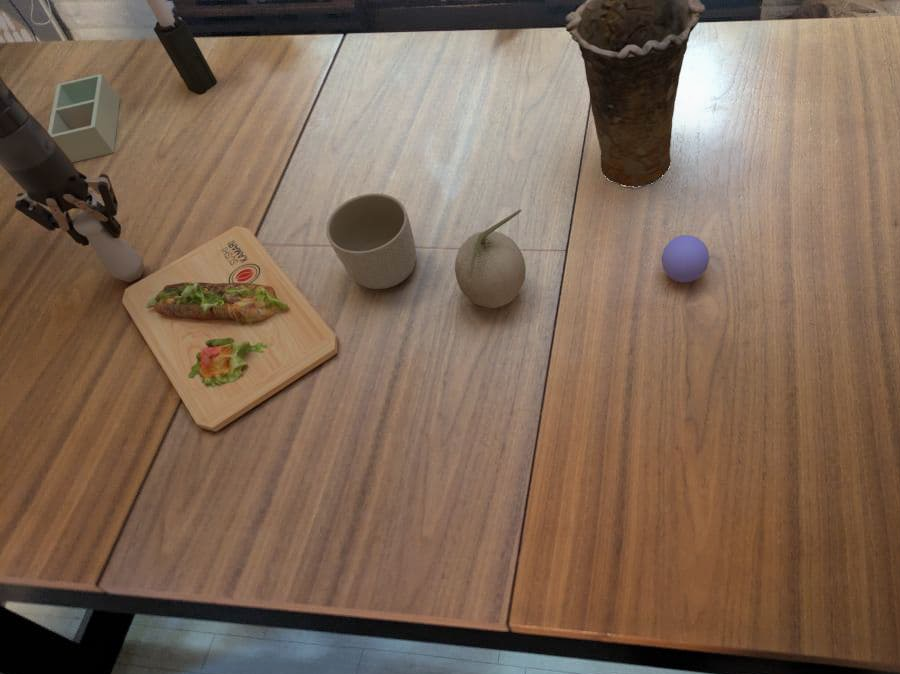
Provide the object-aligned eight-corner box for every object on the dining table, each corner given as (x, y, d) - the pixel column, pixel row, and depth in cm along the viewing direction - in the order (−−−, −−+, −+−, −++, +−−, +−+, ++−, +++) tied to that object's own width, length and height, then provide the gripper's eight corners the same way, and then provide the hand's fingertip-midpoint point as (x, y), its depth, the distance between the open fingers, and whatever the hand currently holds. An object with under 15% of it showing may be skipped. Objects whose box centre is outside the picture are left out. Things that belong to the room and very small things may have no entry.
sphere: (670, 252, 112) (672, 219, 106) (712, 264, 110) (718, 232, 104) (653, 284, 109) (655, 252, 103) (697, 297, 107) (702, 265, 101)
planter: (382, 312, 111) (361, 266, 102) (334, 275, 116) (309, 227, 107) (439, 265, 115) (423, 216, 106) (390, 231, 120) (370, 181, 111)
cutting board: (346, 349, 108) (329, 319, 101) (208, 439, 102) (181, 413, 95) (247, 228, 123) (227, 195, 117) (123, 300, 118) (94, 269, 111)
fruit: (449, 316, 109) (427, 249, 96) (479, 262, 114) (462, 191, 102) (511, 333, 106) (497, 265, 94) (539, 277, 112) (529, 205, 99)
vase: (649, 212, 116) (656, 61, 94) (559, 174, 123) (545, 25, 100) (704, 148, 123) (723, -7, 100) (616, 115, 130) (615, -37, 107)
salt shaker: (119, 262, 121) (69, 205, 110) (151, 257, 121) (105, 200, 110) (112, 288, 118) (60, 232, 107) (145, 283, 118) (97, 227, 107)
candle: (203, 74, 149) (134, -52, 127) (219, 81, 147) (151, -45, 126) (185, 88, 147) (112, -38, 126) (201, 95, 145) (129, -31, 124)
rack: (67, 163, 138) (46, 138, 133) (76, 109, 147) (57, 83, 142) (114, 152, 138) (94, 126, 133) (120, 99, 147) (102, 73, 142)
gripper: (80, 122, 100) (148, 211, 115) (-21, 145, 99) (60, 232, 114) (74, 156, 96) (145, 244, 111) (-31, 180, 96) (54, 266, 110)
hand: (102, 237), depth 112 cm, fingers closed on salt shaker, 4 cm apart
